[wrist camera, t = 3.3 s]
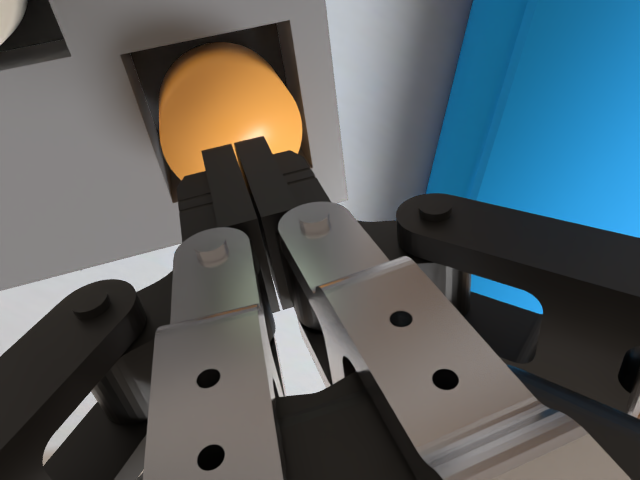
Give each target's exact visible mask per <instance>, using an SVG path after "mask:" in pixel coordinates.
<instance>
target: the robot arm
mask: <svg viewBox="0 0 640 480" xmlns="http://www.w3.org/2000/svg"><path fill="white" fill-rule="evenodd" d="M234 147H235V151H236V155H237V158H236V155H235V153H234V150H233V147H232V144H227V145H223V146H219V147H215V148H210V149H206V150H202V151H201V152H202V157H203V161H204V166H205V170H206V171H203V172H199V173H195V174H191V175H187V176H184V178H183V179H182V181H181V182H180V184H179V186H178V187H177V198H178V207H179V217H180V226H181V235H182V244H181V245H180V246H179V247H178V248H177V250H176V252H175V254H174V260H173V271H172V272H170V273H169V274H168V275H167V276H165V277H164V278H162V279H161V280H159V281H157V282H156V283H154V284H152V285H150V286H148V287H146V288H144V289H142V290H140V291H138V292H136V291H135V289H134V287H133V286H132V285H131V284H129V283H128V282H126V281H122V280H116V279H110V280H102V281H98V282H94V283H91V284H88V285H86V286H83V287H81V288H79V289H77V290H76V291H74V292H72V293H71V294H69V295H68V296H67V297H65V298H64V299H63V300H62V301H61V302H60V303H59V304H57V305H56V306H55V307H54V308H53V309H52V310H51V311H50V312H49V313H48V314H47V315H45V316H44V317H43V318H42V319H41V320H40V321H39V322H38V323H37V324H36V325H34V326H33V327H32V328H31V329H30V330H29V331H28V332H27V333H26V334H25V335H24V336H22V337H21V338H20V339H19V340H18V341H17V342H16V343H15V344H14V345H13V346H11V347H10V348H9V349H8V350H7V351H6V352H5V353H4V354H3V355H2V356H1V357H0V480H136V479H137V480H640V238H638V237H634V236H629V235H625V234H621V233H616V232H612V231H608V230H603V229H599V228H594V227H590V226H586V225H581V224H577V223H572V222H568V221H564V220H559V219H555V218H551V217H546V216H542V215H537V214H533V213H529V212H524V211H520V210H516V209H511V208H507V207H502V206H498V205H494V204H489V203H485V202H480V201H476V200H472V199H467V198H463V197H459V196H454V195H449V194H442V193H430V194H423V195H419V196H415V197H413V198H410V199H408V200H407V201H405V202H404V203H402V204H401V205H400V207H399V208H398V210H397V213H396V221H383V222H362V221H357V220H356V219H355V218H354V217H353V215H352V214H351V213H350V212H349V211H348V210H347V209H346V208H345V207H343V206H341V205H339V204H336V203H332V202H331V201H330V199H329V197H328V196H327V194H326V192H325V191H324V189H323V188H322V186H321V184H320V183H319V181H318V179H317V178H316V177H315V174H314V173H313V171H312V169H310V166H309V165H308V163H307V161H306V160H305V158H304V157H303V156H301V155H299V154H297V153H295V152H293V151H291V150H288V151H284V152H280V153H276V154H273V153H272V151H271V149H270V147H269V145H268V143H267V141H266V139H265V137H264V136H260V137H256V138H252V139H248V140H243V141H239V142H235V143H234ZM237 159H238V161H237ZM238 163H239V164H238ZM471 274H473V275H476V276H479V277H482V278H486V279H489V280H492V281H495V282H499V283H502V284H505V285H508V286H511V287H515V288H518V289H521V290H524V291H526V292H528V293H530V294H532V295H533V296H534V297H535V298H536V299H537V300H538V301H539V302H540V304H541V306H542V309H543V314H539V313H535V312H532V311H529V310H526V309H523V308H520V307H517V306H514V305H511V304H508V303H505V302H502V301H499V300H496V299H493V298H490V297H487V296H484V295H481V294H478V293H474V292H471V291H470V289H471ZM271 275H272V276H271ZM272 278H273V280H272ZM273 281H274V284H275V287H276V290H277V293H278V296H279V299H280V302H281V305H282V308H283V310H284V309H287V308H291V307H294V309H295V311H296V314H297V318H298V323H299V327H300V332H301V335H302V338H303V340H304V342H305V344H306V346H307V348H308V350H309V352H310V355H311V357H312V359H313V361H314V363H315V365H316V367H317V369H318V371H319V374H320V376H321V378H322V380H323V382H324V384H325V386H326V389H324V390H322V391H320V392H317V393H313V394H304V395H294V396H286V391H285V386H284V380H283V375H282V370H281V364H280V359H279V353H278V348H277V343H276V339H275V336H274V333H275V322H274V318H273V314H272V313H274V312H278V311H280V309H279V305H278V300H277V296H276V292H275V288H274V284H273ZM90 392H92V393H93V395H94V397H95V398H96V400H97V401H98V402H97V403H96V404H95V405H94V406H93V408H92V409H91V410H90V411H89V412H88V414H87V415H86V416H85V417H84V418H83V419H82V421H81V422H80V423H79V424H78V425H77V427H76V428H75V429H74V430H73V431H72V433H71V434H70V435H69V436H68V437H67V439H66V440H65V441H64V442H63V443H62V444H61V446H60V447H59V448H58V449H57V450H56V452H55V453H54V454H53V455H52V456H51V458H50V459H49V460H48V461H47V462H46V464H45V465H44V466H43V464H42V460H43V453H44V450H45V447H46V445H47V443H48V441H49V440H50V438H51V437H52V436H53V434H54V433H55V432H56V431H57V430H58V428H59V427H60V426H61V425H62V424H63V423H64V422H65V420H66V419H67V418H68V417H69V416H70V415H71V414H72V412H73V411H74V410H75V409H76V408H77V407H78V405H79V404H80V403H81V402H82V401H83V400H84V399H85V397H86V396H87V395H88V394H89V393H90ZM143 469H144V471H143ZM142 471H143V473H142V475H141V476H140V477H138V476H139V475H140V473H141V472H142Z"/></svg>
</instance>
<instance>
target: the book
mask: <svg viewBox="0 0 640 480" xmlns="http://www.w3.org/2000/svg"><path fill="white" fill-rule="evenodd" d="M430 193H442V194H449V195H454V196H459V197H463V198H467V199H472V200H476V201H480V202H485V203H489V204H494V205H498V206H502V207H507V208H511V209H516V210H520V211H524V212H529V213H533V214H537V215H542V216H546V217H551V218H555V219H559V220H564V221H568V222H572V223H577V224H581V225H586V226H590V227H594V228H599V229H603V230H608V231H612V232H616V233H621V234H625V235H629V236H634V237H638V238H640V0H473V3H472V7H471V11H470V15H469V19H468V23H467V27H466V31H465V35H464V39H463V43H462V47H461V52H460V56H459V60H458V64H457V68H456V72H455V76H454V80H453V84H452V88H451V92H450V96H449V100H448V105H447V109H446V113H445V117H444V121H443V125H442V129H441V133H440V137H439V141H438V145H437V149H436V153H435V157H434V162H433V166H432V170H431V174H430V178H429V182H428V186H427V190H426V194H430ZM470 291H471V292H474V293H478V294H481V295H484V296H487V297H490V298H493V299H496V300H499V301H502V302H505V303H508V304H511V305H514V306H517V307H520V308H523V309H526V310H529V311H532V312H535V313H539V314H543V309H542V306H541V304H540V302H539V301H538V300H537V299H536V298H535V297H534V296H533V295H532V294H530V293H528V292H526V291H524V290H521V289H518V288H515V287H511V286H508V285H505V284H502V283H499V282H495V281H492V280H489V279H486V278H482V277H479V276H476V275H473V274H471V289H470Z"/></svg>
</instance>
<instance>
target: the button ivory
mask: <svg viewBox="0 0 640 480" xmlns="http://www.w3.org/2000/svg"><path fill="white" fill-rule="evenodd" d="M27 2H28V0H0V45H1V44H2V43H3V42H4V41H5V40H6V39H7V38H8V37H9V36H10V35H11V34H12V33H13V32H14V31H15V29H16V28H17V27H18V26H19V24H20V22H21V20H22V19H23V16H24V14H25V11H26V8H27Z"/></svg>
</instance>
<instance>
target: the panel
mask: <svg viewBox="0 0 640 480" xmlns="http://www.w3.org/2000/svg"><path fill="white" fill-rule="evenodd" d="M49 3H50V5H51V8H52V10H53V13H54V15H55V17H56V20H57V22H58V25H59V27H60V30H61V32H62V34H63V37H64V39H62V40H57V41H52V42H47V43H42V44H37V45H32V46H27V47H22V48H17V49H12V50H7V51H2V52H0V291H2V290H5V289H9V288H13V287H17V286H21V285H25V284H28V283H32V282H36V281H40V280H44V279H48V278H51V277H55V276H59V275H63V274H67V273H70V272H74V271H78V270H82V269H86V268H90V267H93V266H97V265H101V264H105V263H109V262H113V261H116V260H120V259H124V258H128V257H132V256H136V255H139V254H143V253H147V252H151V251H155V250H158V249H162V248H166V247H170V246H174V245H178V244H181V243H182V235H181V226H180V217H179V207H178V198H177V187H178V186H179V184H180V182H181V180H180V179H179V178H178V177H177V176H176V174H175V173H174V172H173V171H172V170H170V168H169V165H168V163H167V161H166V159H165V157H164V154H163V151H162V147H161V143H160V139H159V136H158V133H157V130H156V127H155V124H154V121H153V118H152V115H151V112H150V109H149V107H148V104H147V101H146V98H145V95H144V92H143V89H142V86H141V83H140V80H139V77H138V75H137V72H136V69H135V66H134V63H133V60H132V57H131V54H130V53H131V52H136V51H141V50H145V49H150V48H155V47H160V46H165V45H170V44H175V43H180V42H185V41H189V40H194V39H199V38H204V37H209V36H214V35H219V34H224V33H229V32H233V31H238V30H243V29H248V28H253V27H258V26H263V25H268V24H273V23H276V25H277V31H278V36H279V42H280V48H281V54H282V60H283V66H284V72H285V77H286V83H287V89H288V91H289V92H290V94H291V95H292V97H293V99H294V100H295V102H296V104H297V107H298V109H299V112H300V116H301V120H302V140H301V146H300V149H299V152H298V154H299V155H301V156H303V157H304V158H305V160H306V161H307V163H308V165H309V166H310V169H312V171H313V173H314V174H315V177H316V178H317V179H318V181H319V183H320V184H321V186H322V188H323V189H324V191H325V192H326V194H327V196H328V197H329V199H330V201H331V202H332V203H338V202H342V201H346V200H348V195H347V186H346V178H345V169H344V160H343V151H342V143H341V134H340V125H339V116H338V108H337V99H336V90H335V81H334V73H333V64H332V55H331V46H330V38H329V29H328V20H327V11H326V3H325V0H49Z"/></svg>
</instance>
